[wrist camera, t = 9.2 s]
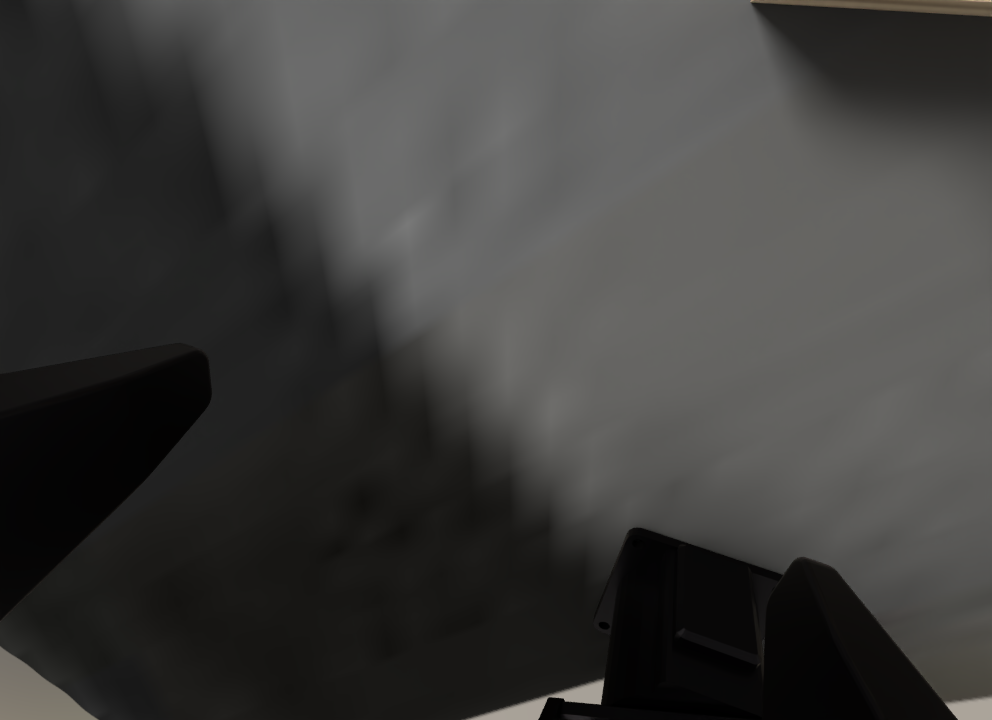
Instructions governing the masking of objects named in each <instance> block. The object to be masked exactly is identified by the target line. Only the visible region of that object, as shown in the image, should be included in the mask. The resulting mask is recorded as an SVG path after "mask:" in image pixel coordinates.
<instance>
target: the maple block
mask: <svg viewBox="0 0 992 720" xmlns="http://www.w3.org/2000/svg"><path fill="white" fill-rule="evenodd" d="M751 2H753V3H770V4H786V5H803V6H820V7H837V8H854V9H871V10H888V11H905V12H922V13H939V14H956V15H973V16H990V17H992V0H751Z"/></svg>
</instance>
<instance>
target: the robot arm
mask: <svg viewBox="0 0 992 720" xmlns="http://www.w3.org/2000/svg"><path fill="white" fill-rule="evenodd" d="M211 396H212V388H211V379H210V369H209V360H208V356H207V355H206V353H205V352H204V351H203V350H201V349H198V348H195V347H192V346H189V345H186V344H183V343H175V344H169V345H164V346H158V347H152V348H147V349H141V350H135V351H130V352H124V353H119V354H113V355H107V356H102V357H96V358H90V359H85V360H79V361H73V362H68V363H62V364H56V365H51V366H45V367H39V368H34V369H28V370H22V371H17V372H11V373H6V374H0V622H1V621H2V620H3V619H4V618H5V617H6V616H7V615H8V614H9V613H10V612H11V611H12V610H13V609H14V608H15V607H16V606H17V605H18V604H19V603H20V602H21V601H22V600H23V599H24V598H25V597H26V596H27V595H28V594H29V593H30V592H31V591H33V590H34V589H35V588H36V587H37V586H38V585H39V584H40V583H41V582H42V581H43V580H44V579H45V578H46V577H47V576H48V575H49V574H50V573H51V572H52V571H53V570H54V569H55V568H56V567H57V566H58V565H59V564H60V563H61V562H62V561H63V560H64V559H65V558H66V557H67V556H68V555H69V554H71V553H72V552H73V551H74V550H75V549H76V548H77V547H78V546H79V545H80V544H81V543H82V542H83V541H84V540H85V539H86V538H87V537H88V536H89V535H90V534H91V533H92V532H93V531H94V530H95V529H96V528H97V527H98V526H99V525H100V524H101V523H102V522H103V521H104V520H105V519H106V518H107V517H109V516H110V515H111V514H112V513H113V512H114V511H115V510H116V509H117V508H118V507H119V506H120V505H121V504H122V503H123V502H124V501H125V500H126V499H127V498H128V497H129V496H130V495H131V494H132V493H133V492H134V491H135V490H136V489H137V488H138V487H139V486H140V485H141V484H142V483H143V482H144V481H145V480H146V479H147V477H148V476H149V475H150V474H151V473H152V472H153V471H154V470H155V469H156V467H157V466H158V465H159V464H160V463H161V461H162V460H163V459H164V458H165V457H166V456H167V454H168V453H169V452H170V451H171V450H172V448H173V447H174V446H175V445H176V444H177V443H178V441H179V440H180V439H181V438H182V437H183V435H184V434H185V433H186V432H187V431H188V430H189V428H190V427H191V426H192V425H193V424H194V423H195V421H196V420H197V419H198V418H199V417H200V415H201V414H202V413H203V412H204V411H205V409H206V408H207V407H208V405H209V403H210V400H211ZM636 539H638V540H642V542H639V541H636ZM593 625H594V627H595V628H596V629H597V630H598V631H600V632H602V633H605V634H608V635H610V642H609V650H608V657H607V664H606V672H605V679H604V687H603V694H602V701H601V705H598V704H587V703H576V702H565V700H564V699H562V698H552V697H549V698H548V699H547V702H546V704H545V706H544V709H543V711H542V713H541V715H540V718H539V719H538V720H958V719H957V718H956V717H955V716H954V715H953V713H952V712H951V711H950V710H949V709H948V707H947V706H946V705H945V703H944V702H943V701H942V700H941V698H940V697H939V696H938V695H937V693H936V692H935V691H934V690H933V689H932V687H931V686H930V685H929V684H928V682H927V681H926V680H925V679H924V678H923V676H922V675H921V674H920V673H919V671H918V670H917V669H916V668H915V666H914V665H913V664H912V663H911V662H910V660H909V659H908V658H907V657H906V655H905V654H904V653H903V652H902V651H901V649H900V648H899V647H898V646H897V644H896V643H895V642H894V641H893V640H892V638H891V637H890V636H889V635H888V633H887V632H886V631H885V630H884V628H883V627H882V626H881V625H880V624H879V622H878V621H877V620H876V619H875V617H874V616H873V615H872V614H871V613H870V611H869V610H868V609H867V608H866V606H865V605H864V604H863V603H862V601H861V600H860V599H859V598H858V597H857V595H856V594H855V593H854V592H853V590H852V589H851V588H850V587H849V586H848V584H847V583H846V582H845V581H844V579H843V578H842V577H841V576H840V574H839V573H838V572H837V571H836V570H835V569H834V568H833V567H831V566H829V565H826V564H823V563H820V562H818V561H815V560H812V559H809V558H806V557H799V558H797V559H795V560H794V561H793V562H792V563H791V565H790V566H789V568H788V569H787V571H786V572H785V574H784V575H781V574H778V573H775V572H772V571H769V570H766V569H763V568H760V567H757V566H754V565H751V564H748V563H745V562H742V561H739V560H736V559H733V558H730V557H727V556H724V555H721V554H718V553H715V552H712V551H709V550H706V549H703V548H700V547H697V546H694V545H691V544H688V543H685V542H682V541H679V540H676V539H673V538H670V537H667V536H664V535H661V534H658V533H654V532H651V531H648V530H645V529H642V528H633V529H631V530H629V531H628V533H627V535H626V537H625V540H624V542H623V545H622V547H621V550H620V552H619V555H618V557H617V560H616V562H615V565H614V567H613V570H612V572H611V575H610V577H609V580H608V582H607V585H606V587H605V590H604V592H603V595H602V597H601V600H600V602H599V605H598V607H597V610H596V612H595V616H594V621H593ZM764 637H765V649H764V656H763V648H762V640H763V638H764Z"/></svg>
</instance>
